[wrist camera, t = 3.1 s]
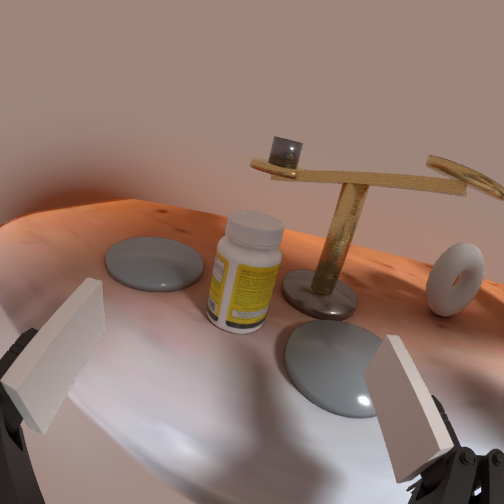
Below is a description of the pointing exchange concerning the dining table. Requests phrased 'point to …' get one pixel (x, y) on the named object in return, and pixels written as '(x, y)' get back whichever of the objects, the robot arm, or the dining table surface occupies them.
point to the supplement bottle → (245, 271)
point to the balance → (352, 220)
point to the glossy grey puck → (332, 366)
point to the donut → (445, 274)
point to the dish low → (154, 264)
